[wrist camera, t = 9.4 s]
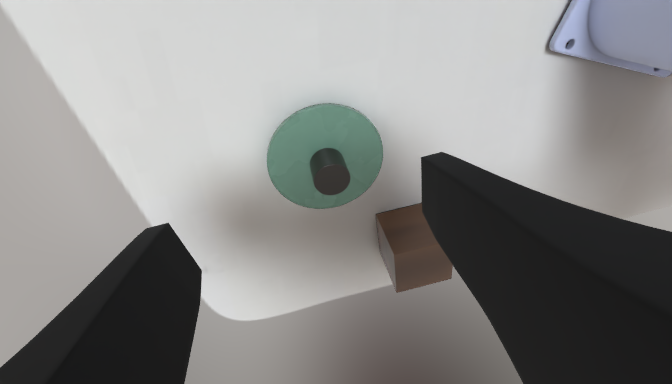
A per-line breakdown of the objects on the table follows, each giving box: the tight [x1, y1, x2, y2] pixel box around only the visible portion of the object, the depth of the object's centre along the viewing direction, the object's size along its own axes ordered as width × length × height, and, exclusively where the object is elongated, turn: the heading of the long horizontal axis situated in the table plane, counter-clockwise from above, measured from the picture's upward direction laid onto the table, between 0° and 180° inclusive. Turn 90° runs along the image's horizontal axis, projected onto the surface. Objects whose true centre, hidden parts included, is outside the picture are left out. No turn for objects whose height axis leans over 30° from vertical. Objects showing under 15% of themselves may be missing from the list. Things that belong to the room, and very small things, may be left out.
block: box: [376, 203, 453, 292], centre depth 22 cm, size 4×4×4 cm
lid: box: [267, 103, 383, 209], centre depth 18 cm, size 7×7×3 cm
